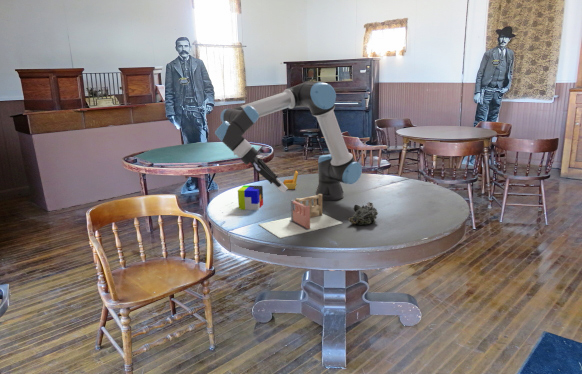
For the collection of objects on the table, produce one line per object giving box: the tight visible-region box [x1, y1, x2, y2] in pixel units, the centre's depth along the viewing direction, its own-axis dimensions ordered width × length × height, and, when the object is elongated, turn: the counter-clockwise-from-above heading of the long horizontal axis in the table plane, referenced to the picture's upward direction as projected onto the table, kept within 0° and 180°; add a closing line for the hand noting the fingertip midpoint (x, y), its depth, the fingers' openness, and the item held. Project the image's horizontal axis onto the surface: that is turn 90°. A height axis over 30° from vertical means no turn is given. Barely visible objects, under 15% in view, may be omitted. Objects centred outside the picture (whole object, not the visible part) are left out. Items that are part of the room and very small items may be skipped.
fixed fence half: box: [294, 194, 323, 217], centre depth 205 cm, size 14×2×10 cm, turn 120°
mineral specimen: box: [347, 201, 379, 226], centre depth 198 cm, size 15×13×10 cm
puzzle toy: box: [237, 184, 264, 211], centre depth 225 cm, size 10×10×10 cm
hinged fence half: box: [290, 199, 310, 228], centre depth 195 cm, size 14×2×10 cm, turn 30°
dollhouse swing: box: [282, 170, 299, 190], centre depth 261 cm, size 10×10×9 cm
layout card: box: [258, 213, 344, 239], centre depth 198 cm, size 32×20×1 cm, turn 120°
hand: (285, 190), depth 191 cm, fingers closed
